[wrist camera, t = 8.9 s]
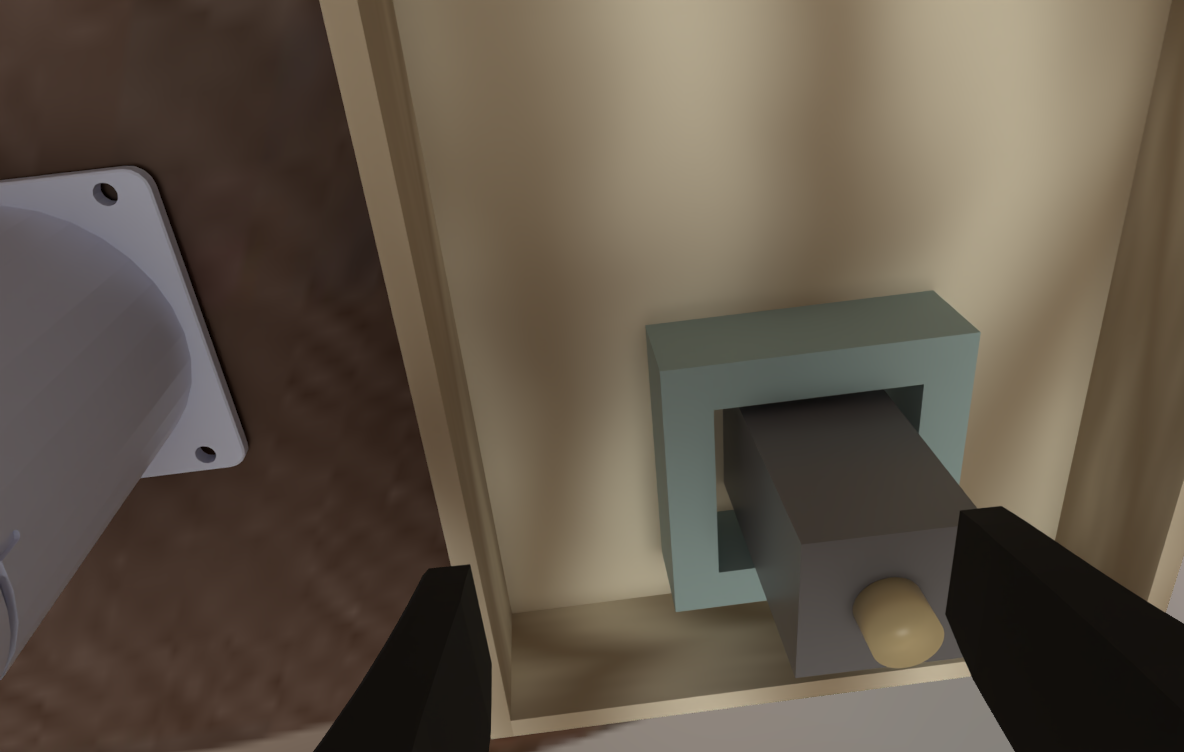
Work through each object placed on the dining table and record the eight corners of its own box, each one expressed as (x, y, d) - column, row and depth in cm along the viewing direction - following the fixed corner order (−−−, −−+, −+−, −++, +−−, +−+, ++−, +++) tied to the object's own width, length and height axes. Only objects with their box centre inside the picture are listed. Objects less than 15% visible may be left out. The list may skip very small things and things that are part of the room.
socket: (662, 551, 25) (676, 612, 22) (645, 324, 21) (659, 371, 19) (908, 519, 25) (946, 577, 23) (933, 290, 21) (980, 332, 19)
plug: (723, 482, 24) (810, 717, 17) (722, 371, 22) (818, 581, 15) (849, 468, 24) (987, 695, 17) (857, 355, 22) (1016, 557, 15)
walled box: (496, 616, 26) (491, 739, 22) (342, -123, 17) (286, -138, 13) (1058, 544, 26) (1153, 652, 23) (1227, -220, 17) (1443, -265, 13)
